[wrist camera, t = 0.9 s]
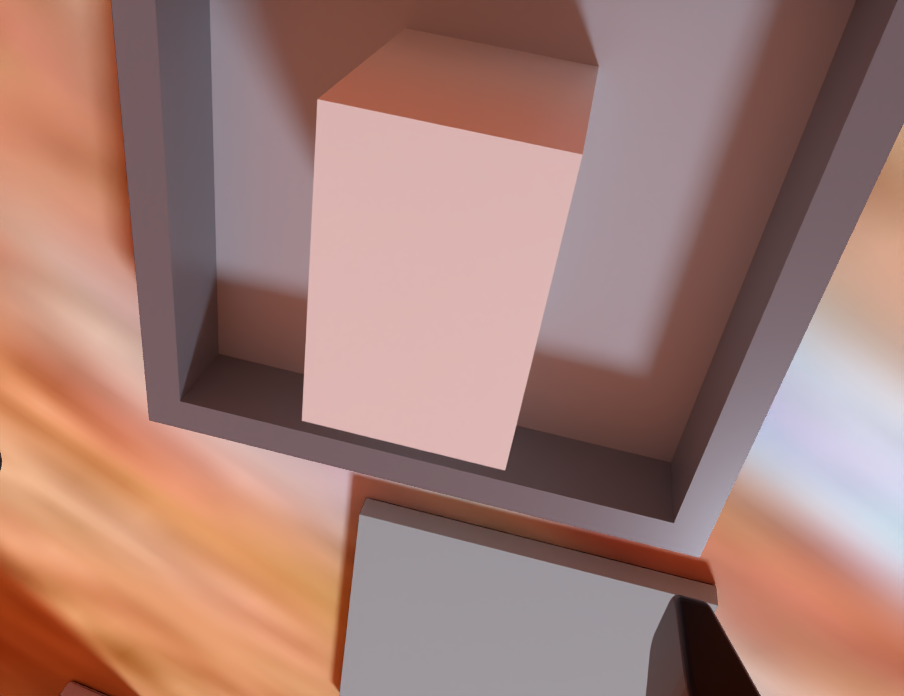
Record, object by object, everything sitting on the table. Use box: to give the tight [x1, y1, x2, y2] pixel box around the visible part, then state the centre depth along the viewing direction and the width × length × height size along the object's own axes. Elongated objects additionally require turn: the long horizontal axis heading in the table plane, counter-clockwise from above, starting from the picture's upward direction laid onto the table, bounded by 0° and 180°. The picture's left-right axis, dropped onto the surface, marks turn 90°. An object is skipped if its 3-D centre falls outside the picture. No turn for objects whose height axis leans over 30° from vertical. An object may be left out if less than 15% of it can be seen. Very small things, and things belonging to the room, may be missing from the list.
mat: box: [339, 498, 718, 696], centre depth 30 cm, size 12×12×1 cm
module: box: [302, 28, 599, 470], centre depth 18 cm, size 4×7×6 cm, turn 173°
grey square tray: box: [111, 0, 904, 557], centre depth 19 cm, size 16×16×3 cm
